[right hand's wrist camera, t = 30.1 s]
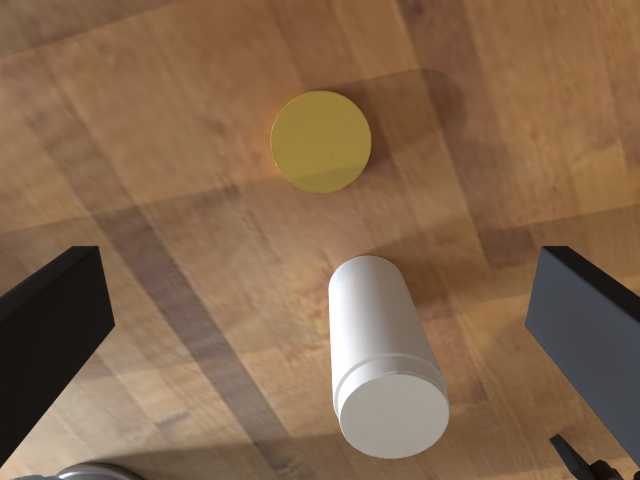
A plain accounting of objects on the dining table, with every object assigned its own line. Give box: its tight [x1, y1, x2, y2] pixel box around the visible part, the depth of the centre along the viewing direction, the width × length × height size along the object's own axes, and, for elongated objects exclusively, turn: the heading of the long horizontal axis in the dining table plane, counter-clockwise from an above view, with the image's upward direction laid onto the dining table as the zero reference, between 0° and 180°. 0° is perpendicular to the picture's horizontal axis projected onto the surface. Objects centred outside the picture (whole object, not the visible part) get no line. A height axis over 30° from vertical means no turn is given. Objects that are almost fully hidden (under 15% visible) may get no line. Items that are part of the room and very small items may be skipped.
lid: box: [270, 90, 371, 193], centre depth 39 cm, size 9×9×2 cm
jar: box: [329, 255, 450, 459], centre depth 37 cm, size 8×8×18 cm
